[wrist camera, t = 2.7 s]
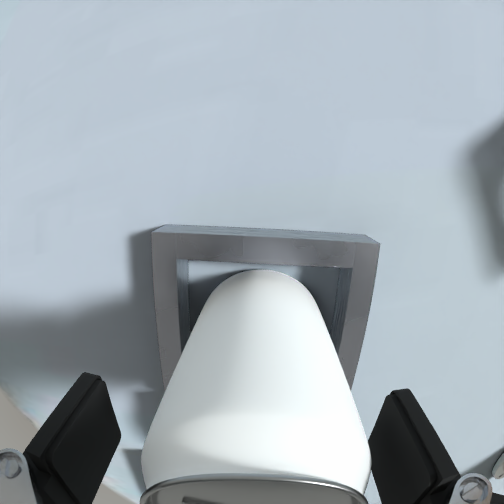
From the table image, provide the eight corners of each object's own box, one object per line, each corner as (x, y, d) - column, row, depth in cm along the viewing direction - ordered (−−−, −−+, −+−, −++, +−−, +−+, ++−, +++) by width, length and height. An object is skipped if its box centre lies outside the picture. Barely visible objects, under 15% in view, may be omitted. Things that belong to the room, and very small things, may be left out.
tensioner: (365, 234, 15) (422, 270, 9) (321, 447, 19) (332, 514, 13) (165, 224, 15) (107, 254, 9) (183, 440, 19) (164, 505, 13)
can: (303, 376, 17) (330, 558, 6) (197, 358, 17) (136, 538, 6) (332, 278, 16) (438, 458, 4) (210, 255, 16) (102, 428, 4)
